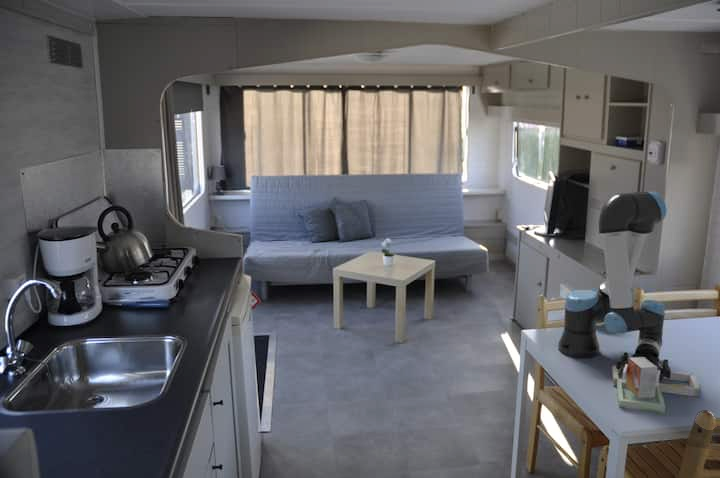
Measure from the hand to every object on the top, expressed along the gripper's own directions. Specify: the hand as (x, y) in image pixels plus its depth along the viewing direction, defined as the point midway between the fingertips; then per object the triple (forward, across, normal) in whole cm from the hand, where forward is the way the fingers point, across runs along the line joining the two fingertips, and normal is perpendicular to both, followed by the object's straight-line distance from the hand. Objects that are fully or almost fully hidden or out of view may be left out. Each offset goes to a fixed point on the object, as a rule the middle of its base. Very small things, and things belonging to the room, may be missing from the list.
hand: (640, 379), depth 190 cm
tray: (-5, 0, -9) cm, 10 cm away
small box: (-4, 0, -7) cm, 8 cm away
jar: (-70, +25, -10) cm, 75 cm away
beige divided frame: (-19, -3, -9) cm, 22 cm away
